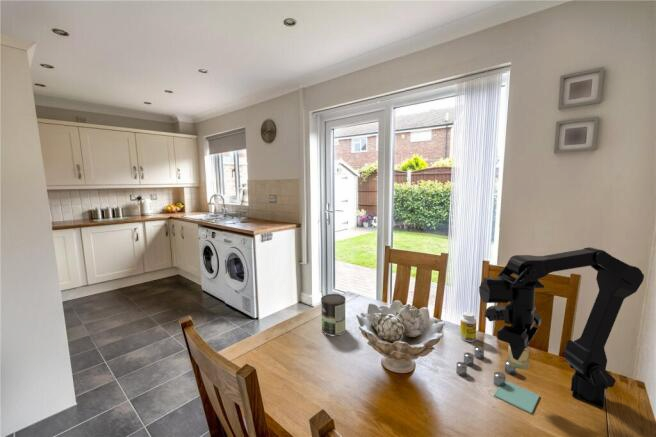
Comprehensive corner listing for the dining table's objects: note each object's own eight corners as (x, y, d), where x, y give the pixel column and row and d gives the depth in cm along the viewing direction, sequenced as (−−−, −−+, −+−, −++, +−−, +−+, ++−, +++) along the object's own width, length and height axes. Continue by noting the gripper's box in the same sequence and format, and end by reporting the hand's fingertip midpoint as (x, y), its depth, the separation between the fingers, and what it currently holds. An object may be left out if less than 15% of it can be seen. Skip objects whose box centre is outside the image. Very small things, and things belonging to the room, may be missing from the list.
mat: (539, 396, 81) (539, 395, 81) (531, 414, 75) (531, 412, 75) (503, 381, 87) (503, 379, 87) (493, 396, 81) (493, 394, 81)
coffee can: (322, 337, 115) (322, 304, 113) (320, 325, 125) (320, 294, 124) (347, 335, 116) (347, 302, 115) (343, 323, 126) (343, 293, 125)
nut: (531, 363, 80) (532, 346, 79) (526, 371, 77) (527, 353, 76) (510, 356, 84) (511, 339, 83) (505, 363, 80) (506, 346, 80)
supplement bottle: (465, 343, 109) (466, 317, 108) (457, 335, 114) (457, 311, 113) (478, 341, 110) (479, 316, 108) (469, 334, 115) (470, 310, 114)
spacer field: (518, 369, 93) (518, 361, 92) (501, 395, 82) (502, 385, 81) (473, 352, 103) (473, 344, 103) (453, 372, 92) (453, 363, 92)
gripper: (500, 286, 90) (498, 333, 92) (477, 303, 78) (475, 357, 80) (543, 295, 82) (540, 346, 84) (525, 316, 70) (522, 375, 71)
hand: (518, 355), depth 80 cm, fingers closed on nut, 5 cm apart
